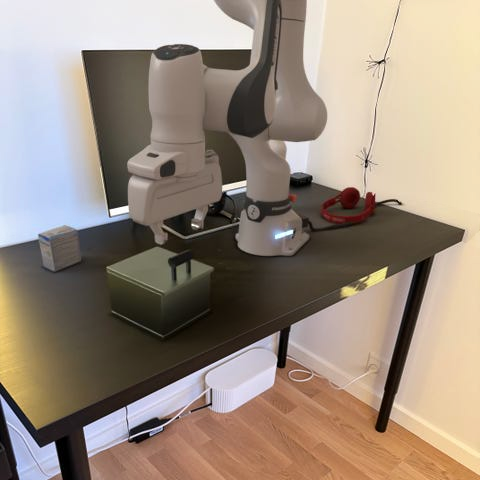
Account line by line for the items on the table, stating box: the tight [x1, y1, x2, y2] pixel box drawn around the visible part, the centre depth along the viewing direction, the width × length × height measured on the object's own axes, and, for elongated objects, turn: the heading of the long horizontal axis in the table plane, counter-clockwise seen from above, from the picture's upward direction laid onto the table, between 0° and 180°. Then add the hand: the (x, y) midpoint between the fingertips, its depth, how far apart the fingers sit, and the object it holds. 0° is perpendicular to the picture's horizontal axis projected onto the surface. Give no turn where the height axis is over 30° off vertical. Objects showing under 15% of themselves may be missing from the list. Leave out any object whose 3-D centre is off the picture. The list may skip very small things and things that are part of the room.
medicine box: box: [37, 224, 82, 273], centre depth 116 cm, size 8×4×9 cm, turn 145°
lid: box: [106, 246, 215, 296], centre depth 94 cm, size 16×14×5 cm
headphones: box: [321, 186, 376, 224], centre depth 157 cm, size 15×7×20 cm
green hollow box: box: [106, 270, 211, 341], centre depth 98 cm, size 15×14×10 cm
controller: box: [206, 191, 228, 216], centre depth 151 cm, size 4×12×10 cm, turn 53°
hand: (180, 235), depth 87 cm, fingers open, 8 cm apart
